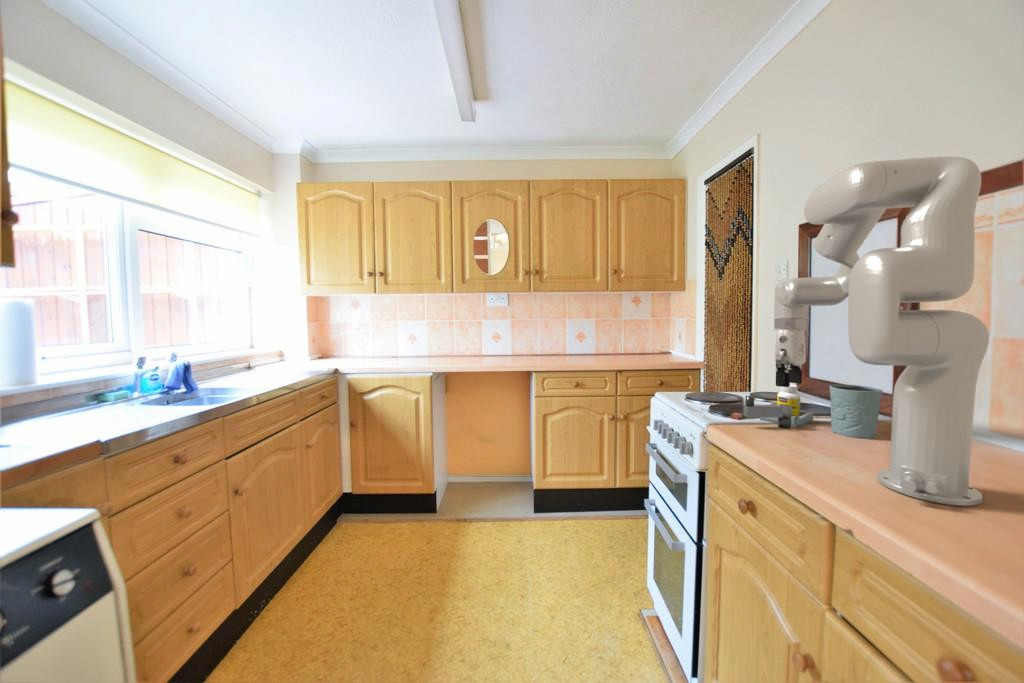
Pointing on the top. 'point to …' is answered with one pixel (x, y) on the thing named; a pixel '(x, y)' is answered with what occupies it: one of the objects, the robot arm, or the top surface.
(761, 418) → the tray
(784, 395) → the supplement bottle
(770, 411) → the crank lever
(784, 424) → the crank post
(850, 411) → the embossed green planter pot
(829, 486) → the top surface
